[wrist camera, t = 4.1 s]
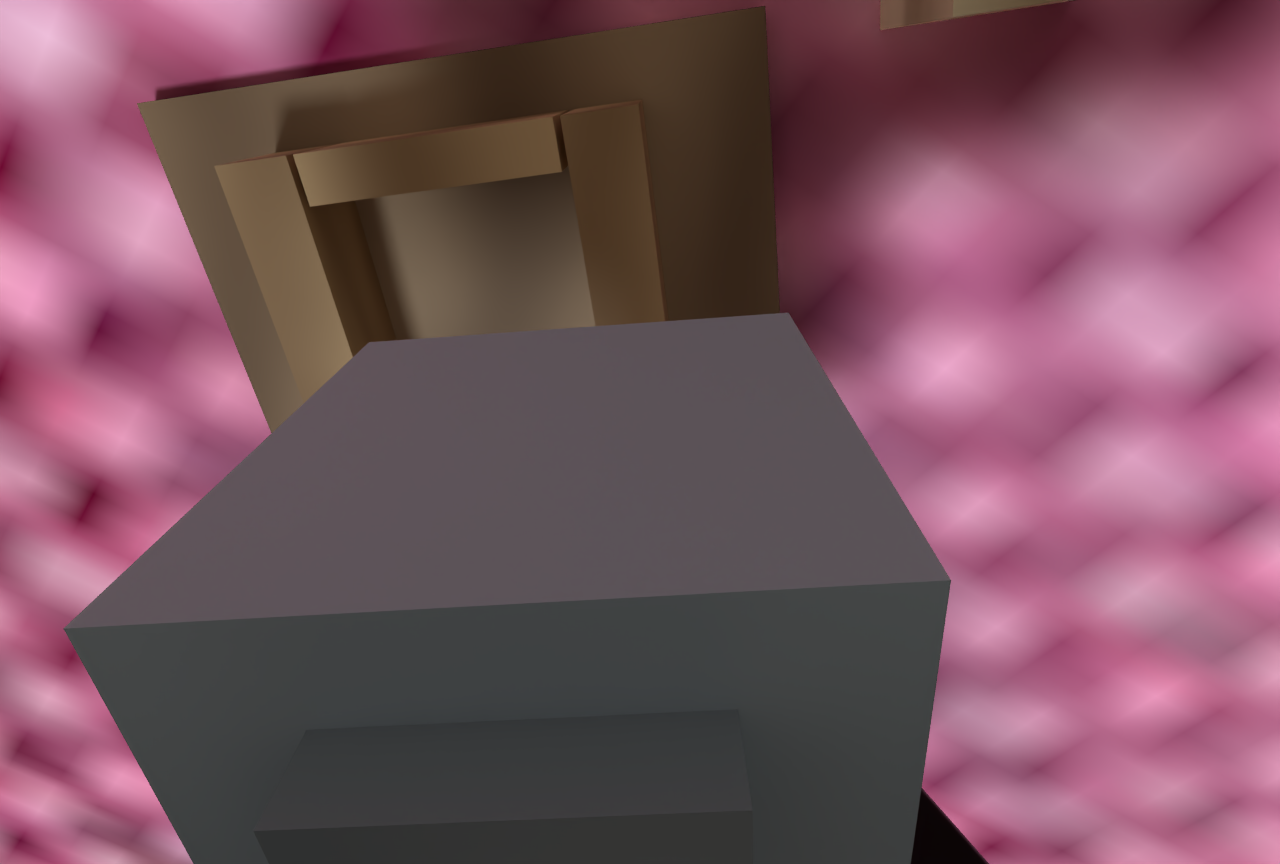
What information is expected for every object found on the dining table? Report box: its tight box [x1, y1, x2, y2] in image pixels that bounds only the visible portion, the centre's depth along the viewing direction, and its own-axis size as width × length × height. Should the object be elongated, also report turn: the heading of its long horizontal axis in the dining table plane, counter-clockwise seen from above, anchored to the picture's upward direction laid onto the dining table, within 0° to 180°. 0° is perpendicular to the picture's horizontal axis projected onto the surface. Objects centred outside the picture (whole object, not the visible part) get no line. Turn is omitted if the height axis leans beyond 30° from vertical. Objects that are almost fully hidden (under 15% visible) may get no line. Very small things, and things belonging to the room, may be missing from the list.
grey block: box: [64, 313, 951, 864], centre depth 8 cm, size 4×10×5 cm, turn 4°
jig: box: [137, 6, 780, 433], centre depth 18 cm, size 14×16×3 cm
